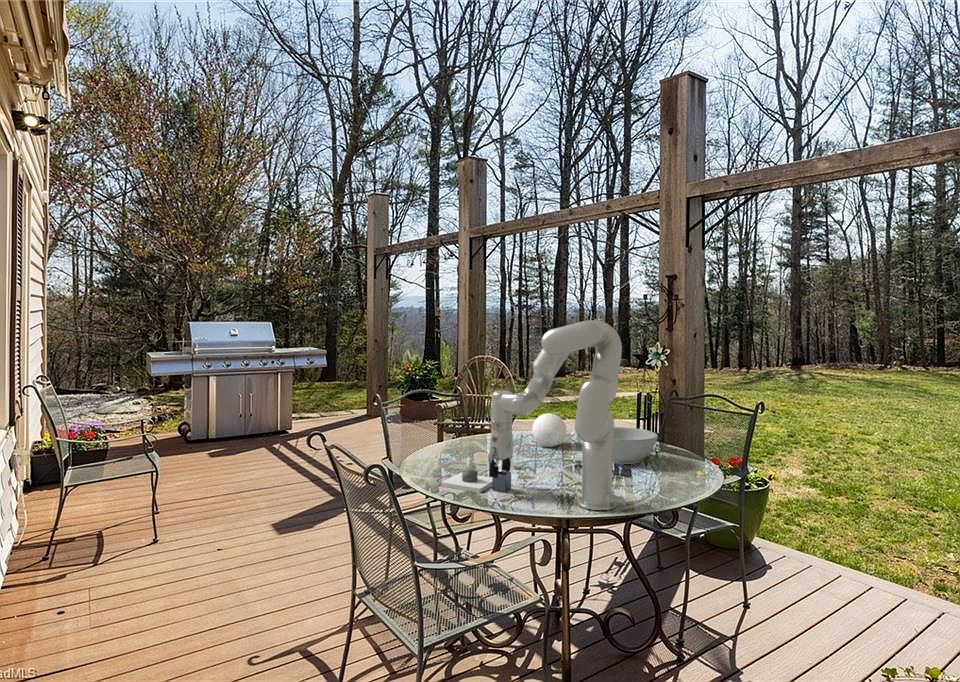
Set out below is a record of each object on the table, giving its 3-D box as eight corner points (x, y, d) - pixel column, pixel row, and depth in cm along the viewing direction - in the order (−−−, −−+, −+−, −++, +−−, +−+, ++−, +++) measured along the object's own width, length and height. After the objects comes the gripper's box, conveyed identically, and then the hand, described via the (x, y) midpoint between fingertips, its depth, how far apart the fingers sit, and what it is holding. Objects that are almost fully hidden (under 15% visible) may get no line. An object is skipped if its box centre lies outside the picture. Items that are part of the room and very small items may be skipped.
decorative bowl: (580, 460, 234) (580, 432, 234) (616, 450, 252) (616, 424, 252) (634, 473, 214) (634, 442, 214) (669, 462, 232) (670, 433, 232)
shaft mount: (498, 482, 201) (498, 456, 201) (479, 492, 189) (479, 465, 188) (460, 476, 209) (460, 451, 208) (441, 486, 196) (441, 459, 196)
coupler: (511, 488, 193) (511, 469, 193) (504, 492, 189) (505, 473, 189) (498, 486, 196) (498, 467, 196) (492, 490, 191) (492, 471, 191)
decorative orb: (530, 450, 251) (531, 416, 251) (524, 442, 269) (524, 410, 268) (573, 450, 253) (573, 416, 252) (564, 441, 270) (564, 409, 270)
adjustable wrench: (520, 471, 219) (520, 466, 219) (504, 471, 218) (504, 467, 218) (509, 455, 244) (509, 451, 244) (495, 455, 243) (495, 451, 243)
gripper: (500, 431, 182) (498, 481, 183) (521, 423, 197) (519, 469, 198) (480, 428, 186) (478, 478, 187) (502, 420, 201) (501, 466, 202)
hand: (499, 473), depth 193 cm, fingers open, 9 cm apart
